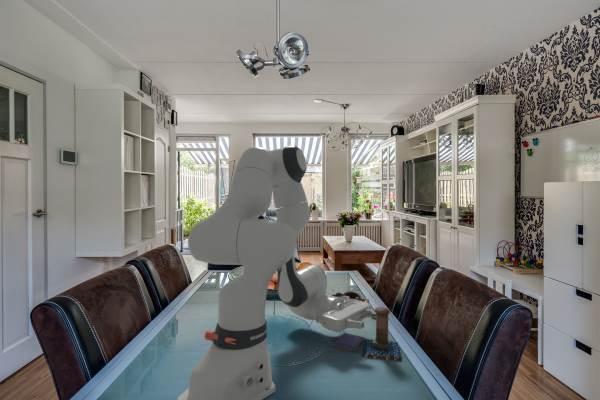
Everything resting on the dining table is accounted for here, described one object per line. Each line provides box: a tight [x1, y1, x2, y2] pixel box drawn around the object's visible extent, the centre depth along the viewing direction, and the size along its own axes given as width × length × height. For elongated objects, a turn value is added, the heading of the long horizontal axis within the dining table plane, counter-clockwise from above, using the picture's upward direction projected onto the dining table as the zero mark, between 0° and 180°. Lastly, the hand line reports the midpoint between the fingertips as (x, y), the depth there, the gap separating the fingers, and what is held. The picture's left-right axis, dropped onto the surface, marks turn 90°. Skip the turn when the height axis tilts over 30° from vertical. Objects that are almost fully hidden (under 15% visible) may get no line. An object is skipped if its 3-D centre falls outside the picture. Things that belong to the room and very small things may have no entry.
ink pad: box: [332, 332, 366, 353], centre depth 103 cm, size 9×7×1 cm
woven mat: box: [362, 338, 403, 361], centre depth 98 cm, size 10×11×2 cm
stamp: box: [372, 306, 393, 352], centre depth 98 cm, size 4×4×11 cm
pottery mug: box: [334, 290, 362, 301], centre depth 135 cm, size 12×10×8 cm
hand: (370, 321), depth 100 cm, fingers open, 8 cm apart
